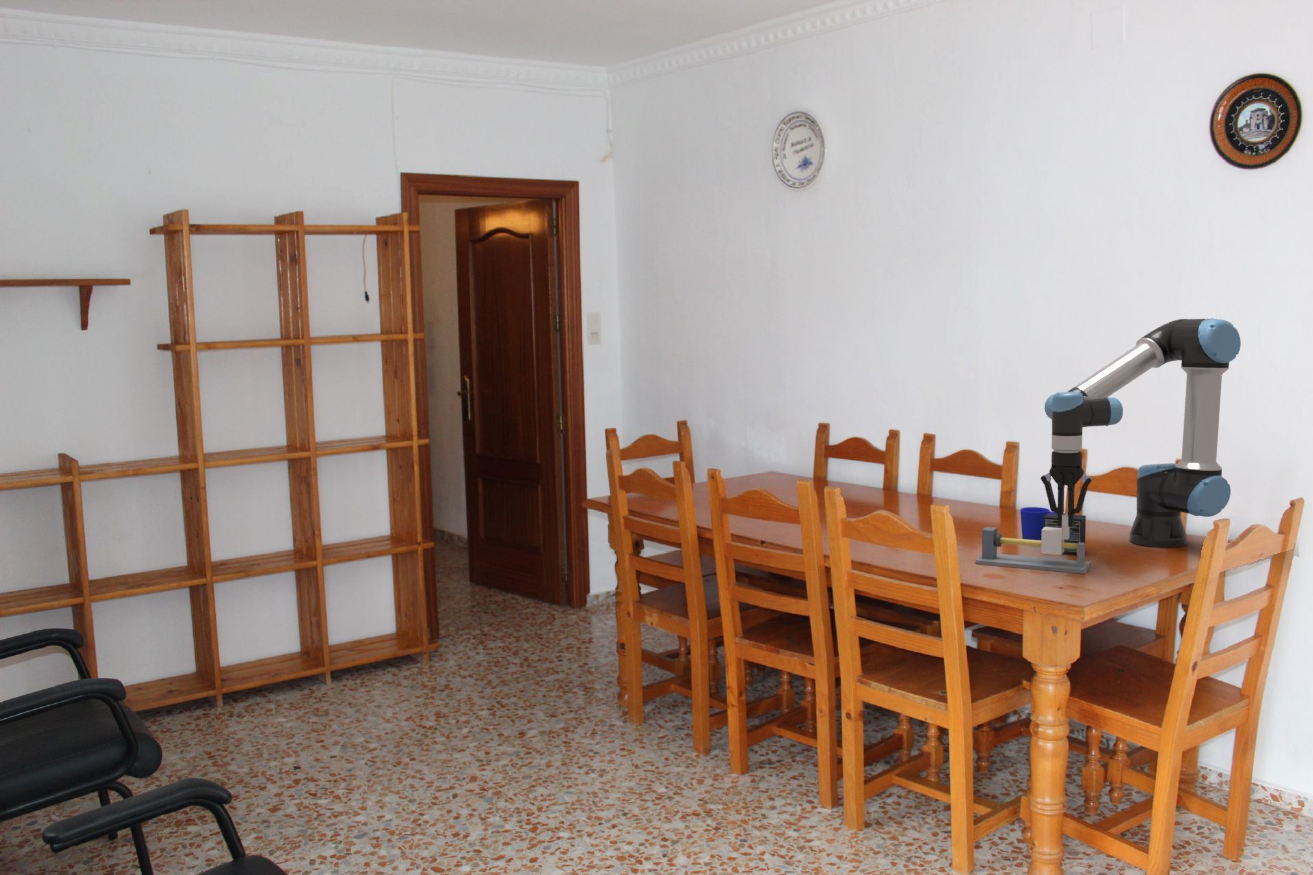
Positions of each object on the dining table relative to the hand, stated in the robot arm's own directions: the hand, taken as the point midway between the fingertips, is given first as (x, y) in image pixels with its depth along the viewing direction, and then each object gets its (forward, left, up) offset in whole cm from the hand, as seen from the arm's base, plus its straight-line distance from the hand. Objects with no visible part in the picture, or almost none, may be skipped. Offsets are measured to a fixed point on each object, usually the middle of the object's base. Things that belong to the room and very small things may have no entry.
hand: (1065, 538), depth 280 cm
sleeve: (+3, 0, -4) cm, 5 cm away
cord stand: (+8, 0, -8) cm, 12 cm away
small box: (+3, -19, -8) cm, 21 cm away
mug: (+11, -28, -8) cm, 31 cm away
